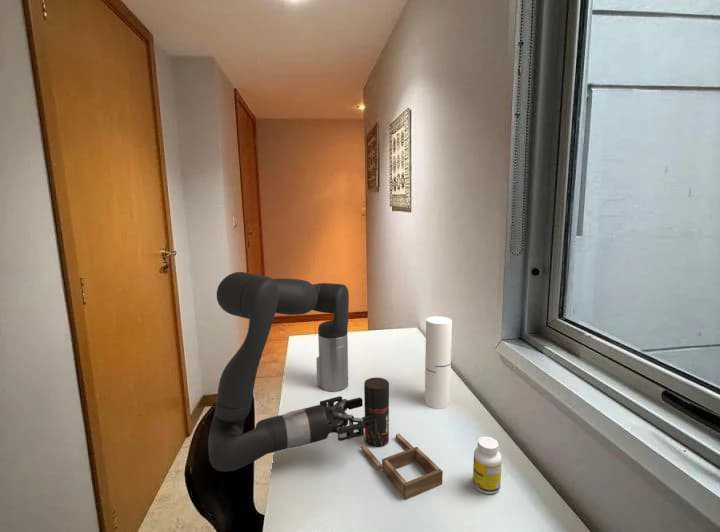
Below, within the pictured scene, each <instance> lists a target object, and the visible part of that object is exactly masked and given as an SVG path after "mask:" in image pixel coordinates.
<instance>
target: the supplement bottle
mask: <svg viewBox="0 0 720 532" xmlns="http://www.w3.org/2000/svg"><path fill="white" fill-rule="evenodd" d="M499 445H500V444H499V442H498V441H497V440H496V439H494V437H490V436H480V437H479V438H478V439H477V447H476V448H475V449H474V452H473V468H472V470H473V473H472V483H473V486H474V487H475V488H476V489H477V490H478V491H480V492H481V493H484V494H488V495H493V494H496V493H498V492H500V489H501V482H502V481H501V480H502V462H503V461H502V460H503V458H502V453H501V452H500V451H499Z"/></svg>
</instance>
